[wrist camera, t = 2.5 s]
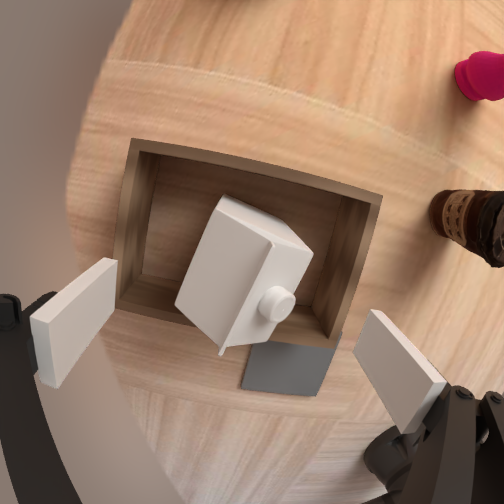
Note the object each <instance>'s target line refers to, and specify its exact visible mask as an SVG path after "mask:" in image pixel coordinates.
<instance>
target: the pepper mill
mask: <svg viewBox="0 0 504 504" xmlns="http://www.w3.org/2000/svg"><path fill="white" fill-rule="evenodd" d="M455 78H456V82H457V84H458V86H459V88H460V90H461V91H462V93H463V94H464V95H465V96H466V97H468V98H469V99H471V100H474V101H478V100H483V99H487V100H490V101H496V100H500V99H502V98H504V54H497V53H493V52H489V51H479V52H475V53H473V54H472V55H471V56H470V57H469V59H467V60H464V61H461V62H459V63H458V64H457V65H456V67H455Z"/></svg>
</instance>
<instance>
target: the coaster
mask: <svg viewBox="0 0 504 504" xmlns="http://www.w3.org/2000/svg"><path fill="white" fill-rule="evenodd" d="M341 335H342V331H341V333H340V335H339V338H338V341H337V343H336V346H335V348H334V349H331V348H322V347H314V346H306V345H298V344H291V343H284V342H277V341H271V340H267V341H266V342H260V343H253V344H252V347H251V350H250V354H249V357H248V361H247V365H246V368H245V372H244V376H243V379H242V383H241V389H248V390H255V391H263V392H272V393H281V394H291V395H303V396H316V395H317V393H318V391H319V388H320V386H321V384H322V382H323V379H324V377H325V375H326V372H327V370H328V368H329V365H330V363H331V360H332V358H333V355H334V353H335V350H336V348H337V345H338V343H339V340H340V338H341Z"/></svg>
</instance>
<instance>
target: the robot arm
mask: <svg viewBox="0 0 504 504" xmlns="http://www.w3.org/2000/svg"><path fill="white" fill-rule="evenodd" d="M117 264H118V260H114V259H109V258H105V257H104V258H102V259H101V260H100V261H98V262H97V263H96V264H94V265H93V266H92V267H90V268H89V269H88V270H86V271H85V272H84V273H83V274H81V275H80V276H79V277H77V278H76V279H75V280H74V281H72V282H71V283H70V284H69V285H67V286H66V287H65V288H64V289H62V290H61V291H60V292H59V293H57V292H54V291H52V292H50V293H47V294H44V295H42V296H41V297H40V298H39V299H37V301H35V302H33V303H32V304H31V305H30V306H28V307H27V308H26V309H25V310H23V311H21V302H20V300H19V298H17V297H16V296H14V295H10V294H0V440H1V445H2V448H3V453H4V457H5V461H6V465H7V468H8V472H9V476H10V479H11V482H12V485H13V488H14V491H15V494H16V497H17V500H18V503H19V504H82V502H81V500H80V498H79V496H78V494H77V492H76V490H75V488H74V486H73V484H72V482H71V480H70V478H69V476H68V474H67V472H66V469H65V467H64V465H63V462H62V460H61V458H60V455H59V453H58V451H57V448H56V445H55V443H54V440H53V438H52V435H51V432H50V430H49V426H48V424H47V421H46V418H45V415H44V411H43V408H42V405H41V402H40V398H39V395H38V391H37V388H36V384H35V380H34V376H33V375H34V374H35V373H36V372H37V370H38V374H39V378H40V382H41V383H44V384H46V385H49V386H51V387H53V388H56V389H58V388H59V386H60V385H61V383H62V382H63V380H64V379H65V378H66V376H67V374H68V373H69V372H70V370H71V369H72V367H73V366H74V364H75V363H76V362H77V360H78V359H79V357H80V356H81V355H82V353H83V352H84V350H85V349H86V348H87V346H88V345H89V344H90V342H91V341H92V340H93V338H94V337H95V335H96V334H97V333H98V331H99V330H100V329H101V327H102V326H103V325H104V323H105V322H106V321H107V319H108V318H109V317H110V316H111V314H112V313H113V312H114V310H115V291H116V276H117ZM353 354H354V355H355V357H356V358H357V360H358V362H359V363H360V365H361V367H362V368H363V370H364V372H365V373H366V375H367V377H368V378H369V380H370V382H371V383H372V385H373V387H374V388H375V390H376V392H377V393H378V395H379V397H380V399H381V400H382V402H383V404H384V405H385V407H386V409H387V410H388V412H389V414H390V416H391V417H392V419H393V421H394V423H395V424H396V425H395V426H394V427H392V428H390V429H388V430H387V431H385V432H384V433H383V434H381V435H380V436H379V437H377V438H376V439H375V440H374V441H373V442H372V443H371V444H370V446H369V447H368V448H367V450H366V452H365V454H364V461H365V464H366V466H367V468H368V470H369V471H370V472H371V473H373V474H375V475H376V477H377V478H378V479H379V480H380V481H381V482H382V483H383V484H384V485H385V487H386V489H387V492H388V493H386V494H384V495H382V496H379V497H377V498H374V499H372V500H369V501H367V502H364V503H361V504H504V398H503V397H502V396H501V395H500V394H498V393H497V392H493V391H488V392H486V394H485V395H484V397H483V399H482V400H477V399H475V398H474V395H473V394H472V393H471V392H470V391H469V390H468V389H466V388H464V387H461V386H451V385H450V384H449V383H448V382H447V381H446V379H445V378H444V377H443V376H442V375H441V374H440V373H439V372H438V370H437V369H436V368H434V366H433V365H432V364H431V363H430V362H429V360H427V359H426V358H425V357H424V356H423V355H422V353H421V352H420V351H419V350H418V349H417V348H416V347H415V346H414V345H413V344H412V343H411V342H410V340H409V339H408V338H407V337H406V336H405V335H404V334H403V333H402V332H401V331H400V330H399V329H398V328H397V327H396V326H395V324H394V323H393V322H392V321H391V320H390V319H389V318H388V317H387V316H386V315H385V314H384V313H383V312H382V311H379V310H372V309H370V310H369V313H368V316H367V318H366V321H365V323H364V326H363V328H362V331H361V333H360V336H359V338H358V341H357V343H356V346H355V348H354V350H353ZM488 431H489V435H488V438H487V439H486V441H485V442H484V443H483V441H482V439H483V438H484V436H485V435H486V434H487V432H488Z"/></svg>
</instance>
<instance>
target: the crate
mask: <svg viewBox="0 0 504 504" xmlns="http://www.w3.org/2000/svg"><path fill="white" fill-rule="evenodd" d="M161 155H163V156H169V157H175V158H180V159H186V160H191V161H197V162H202V163H207V164H212V165H217V166H222V167H227V168H232V169H236V170H241V171H246V172H250V173H255V174H259V175H263V176H268V177H272V178H276V179H280V180H284V181H288V182H292V183H296V184H300V185H304V186H308V187H312V188H315V189H319V190H323V191H327V192H330V193H334V194H337V195H341V196H343V197H342V201H341V205H340V208H339V212H338V216H337V220H336V224H335V228H334V231H333V235H332V239H331V242H330V246H329V249H328V253H327V256H326V260H325V263H324V267H323V270H322V274H321V277H320V280H319V284H318V287H317V290H316V293H315V297H314V300H313V303H312V306H311V307H307V306H301V305H294V307H293V309H292V311H291V313H290V314H289V315H288V316H287V317H286V318H285V319H284V320H283V321H281V322H279V323H277V325H276V327H275V329H274V330H273V332H272V334H271V335H270V337H269V339H268V340H271V341H277V342H284V343H291V344H298V345H306V346H314V347H322V348H331V349H334V348H335V346H336V343H337V341H338V338H339V335H340V333H341V330H342V327H343V325H344V322H345V319H346V316H347V314H348V311H349V308H350V305H351V302H352V300H353V297H354V294H355V291H356V288H357V285H358V282H359V279H360V275H361V272H362V269H363V266H364V263H365V260H366V256H367V253H368V250H369V246H370V243H371V239H372V236H373V232H374V229H375V225H376V221H377V217H378V214H379V210H380V206H381V202H382V198H383V196H382V195H379V194H376V193H373V192H370V191H367V190H364V189H360V188H357V187H354V186H351V185H347V184H344V183H341V182H337V181H334V180H330V179H327V178H323V177H319V176H316V175H312V174H308V173H305V172H301V171H297V170H293V169H289V168H285V167H281V166H277V165H273V164H269V163H265V162H260V161H256V160H252V159H247V158H243V157H238V156H233V155H229V154H224V153H219V152H214V151H209V150H203V149H198V148H192V147H187V146H181V145H175V144H169V143H163V142H157V141H150V140H143V139H136V138H131V142H130V147H129V151H128V156H127V161H126V166H125V172H124V177H123V183H122V189H121V195H120V201H119V208H118V215H117V223H116V231H115V240H114V249H113V259H114V260H118V264H117V276H116V291H115V308H117V309H121V310H124V311H128V312H132V313H136V314H140V315H144V316H149V317H153V318H157V319H161V320H166V321H170V322H175V323H179V324H184V325H189V326H193V327H197V326H196V325H195V324H194V323H193V322H192V321H191V320H190V319H188V318H187V317H186V316H185V315H184V314H183V313H182V312H181V311H180V310H179V309H178V308H177V307H176V306H175V301H176V298H177V296H178V293H179V291H180V288H181V286H182V282H177V281H172V280H168V279H163V278H159V277H154V276H150V275H145V274H142V265H143V257H144V250H145V242H146V235H147V229H148V222H149V216H150V210H151V204H152V198H153V193H154V187H155V182H156V177H157V172H158V167H159V162H160V157H161Z"/></svg>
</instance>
